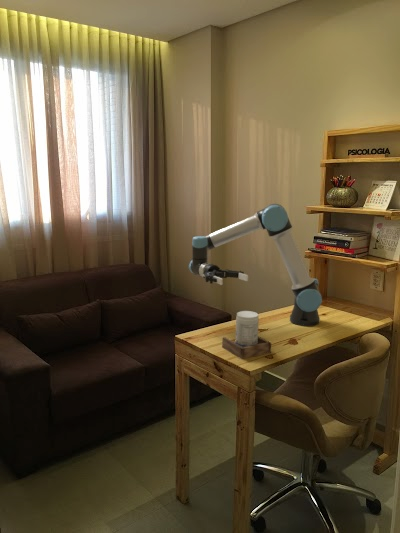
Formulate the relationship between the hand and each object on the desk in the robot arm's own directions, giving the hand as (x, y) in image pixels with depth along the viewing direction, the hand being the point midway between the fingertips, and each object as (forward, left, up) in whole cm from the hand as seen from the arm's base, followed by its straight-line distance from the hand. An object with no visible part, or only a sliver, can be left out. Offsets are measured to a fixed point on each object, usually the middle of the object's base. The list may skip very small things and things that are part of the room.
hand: (234, 280), depth 200 cm
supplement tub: (0, +10, -28) cm, 29 cm away
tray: (0, +10, -29) cm, 31 cm away
